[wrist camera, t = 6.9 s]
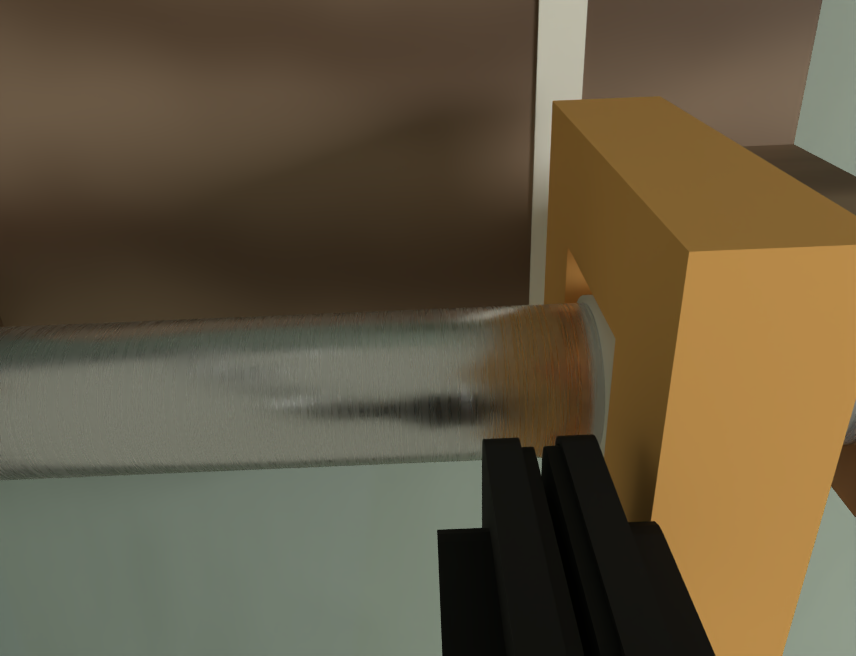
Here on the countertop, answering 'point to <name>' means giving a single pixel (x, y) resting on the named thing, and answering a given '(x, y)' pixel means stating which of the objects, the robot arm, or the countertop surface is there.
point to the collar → (710, 346)
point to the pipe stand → (330, 220)
